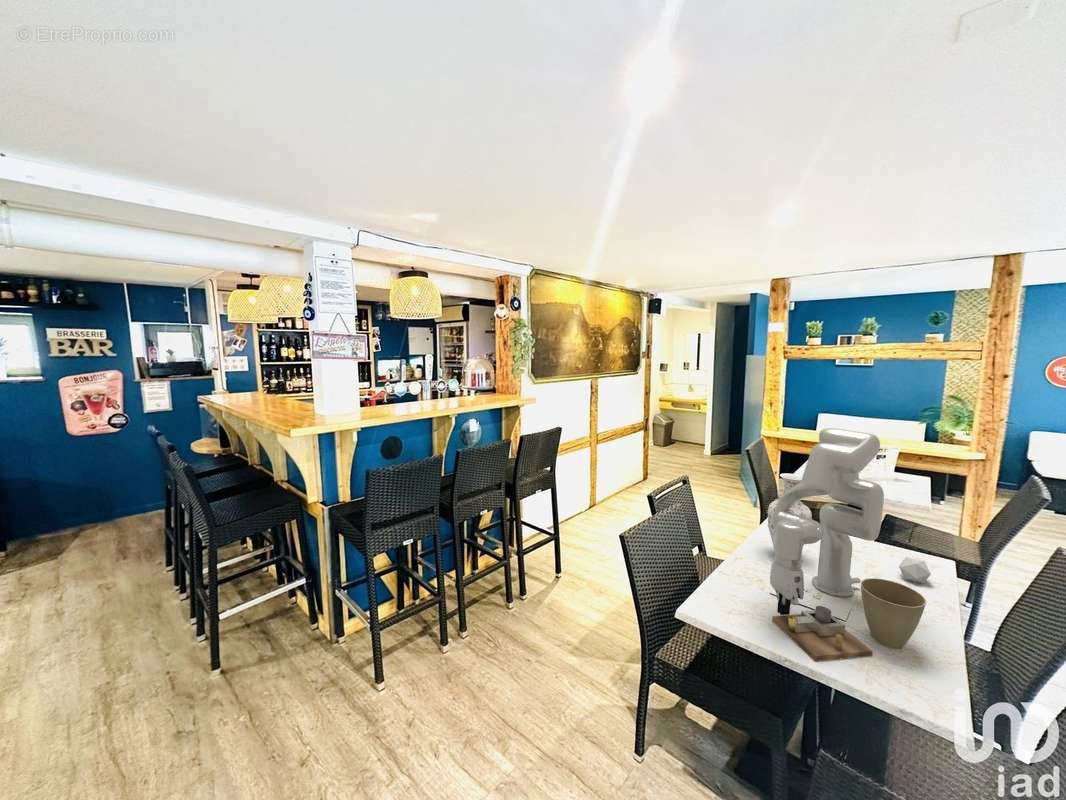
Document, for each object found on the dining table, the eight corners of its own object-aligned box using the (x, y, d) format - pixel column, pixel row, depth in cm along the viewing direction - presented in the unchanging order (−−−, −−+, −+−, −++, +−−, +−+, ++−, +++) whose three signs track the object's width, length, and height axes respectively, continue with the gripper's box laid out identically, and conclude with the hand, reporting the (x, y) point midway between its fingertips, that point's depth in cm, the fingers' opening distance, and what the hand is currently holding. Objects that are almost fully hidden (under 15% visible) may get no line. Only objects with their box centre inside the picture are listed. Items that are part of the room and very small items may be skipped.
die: (919, 590, 155) (940, 570, 154) (893, 570, 161) (913, 551, 159) (915, 588, 162) (935, 569, 161) (890, 569, 167) (909, 551, 166)
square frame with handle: (823, 617, 136) (824, 607, 135) (844, 634, 128) (845, 623, 127) (779, 621, 134) (780, 611, 134) (798, 638, 126) (799, 627, 126)
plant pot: (849, 620, 137) (854, 574, 135) (907, 631, 132) (912, 584, 130) (865, 650, 124) (870, 599, 122) (930, 664, 118) (936, 611, 116)
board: (822, 616, 139) (824, 595, 138) (872, 655, 121) (874, 631, 121) (772, 620, 137) (773, 599, 136) (815, 661, 119) (817, 636, 118)
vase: (818, 565, 172) (825, 482, 168) (779, 566, 171) (786, 482, 167) (791, 546, 188) (797, 470, 184) (756, 547, 187) (761, 471, 183)
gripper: (816, 571, 128) (811, 627, 130) (782, 548, 142) (778, 599, 145) (793, 573, 127) (789, 629, 129) (761, 549, 142) (757, 600, 144)
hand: (783, 613), depth 137 cm, fingers closed
